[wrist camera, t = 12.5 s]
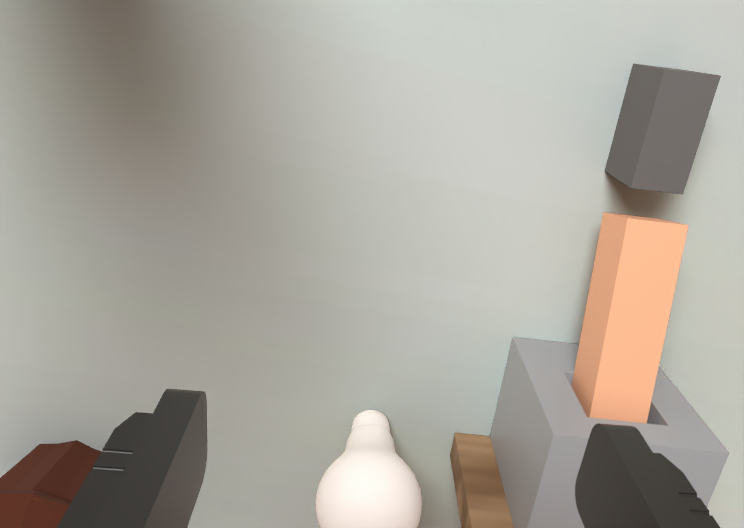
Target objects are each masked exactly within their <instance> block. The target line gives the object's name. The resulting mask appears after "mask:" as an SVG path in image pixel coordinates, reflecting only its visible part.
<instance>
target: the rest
mask: <svg viewBox="0 0 744 528" xmlns="http://www.w3.org/2000/svg"><path fill="white" fill-rule="evenodd" d="M720 77H721V76H719V75H713V74H706V73H700V72H693V71H687V70H679V69H671V68H663V67H655V66H647V65H639V64H633V67H632V70H631V74H630V78H629V82H628V85H627V89H626V93H625V97H624V100H623V104H622V108H621V112H620V116H619V119H618V123H617V127H616V131H615V134H614V138H613V142H612V146H611V149H610V153H609V157H608V161H607V164H606V168H605V172H607V173H608V174H610V175H611V176H613V177H614V178H616V179H618V180H619V181H621V182H622V183H624V184H625V185H627V186H628V187H630V188H634V189H642V190H651V191H659V192H668V193H676V194H683V192H684V189H685V186H686V183H687V180H688V177H689V173H690V170H691V167H692V164H693V161H694V158H695V155H696V152H697V148H698V145H699V142H700V139H701V136H702V133H703V130H704V127H705V123H706V120H707V117H708V114H709V111H710V108H711V105H712V102H713V98H714V95H715V92H716V89H717V86H718V83H719V80H720Z"/></svg>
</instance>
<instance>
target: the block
mask: <svg viewBox="0 0 744 528" xmlns="http://www.w3.org/2000/svg"><path fill="white" fill-rule="evenodd" d="M578 348H579V344H572V343H563V342H554V341H545V340H536V339H526V338H517V337H513V338H512V343H511V347H510V351H509V356H508V360H507V364H506V369H505V373H504V377H503V382H502V386H501V390H500V395H499V399H498V403H497V408H496V412H495V416H494V421H493V425H492V429H491V434H490V438H491V442H492V446H493V450H494V454H495V457H496V461H497V465H498V469H499V473H500V476H501V480H502V484H503V488H504V492H505V495H506V499H507V503H508V507H509V511H510V514H511V518H512V522H513V526H514V528H585V527H584V525H583V522H582V520H581V517H580V515H579V512H578V510H577V506H576V500H575V484H576V479H577V475H578V472H579V469H580V465H581V462H582V459H583V456H584V452H585V449H586V446H587V443H588V439H589V436H590V433H591V430H592V428H593V427H594V425H596V424H598V423H600V424H613V425H626V426H634V427H636V428H637V429H638V430H639V432H640V433H641V435H642V436H643V438H644V439H645V441H646V443H647V444H648V446H649V447H650V449H651V450H652V452H653V453H661V454H662V455H663V456H665V457H666V458H667V459H668V460H669V461H670V462H672V463H673V464H674V465H675V466H676V467H677V468H679V469H680V470H681V471H682V472H683V473H684V474H685V476H686V477H687V479H688V480H689V482H690V483H691V485H692V486H693V488H694V489H695V491H696V492H697V497H698V498H701V500H702V501H703V503H704V504H705V506H706V507H707V505H708V502H709V500H710V498H711V495H712V493H713V491H714V488H715V486H716V483H717V481H718V479H719V476H720V474H721V472H722V469H723V467H724V464H725V462H726V460H727V457H728V455H729V452H728V451H727V449H726V448H725V447H724V446H723V444H722V443H721V442H720V441H719V440H718V438H717V437H716V436H715V435H714V433H713V432H712V431H711V430H710V428H709V427H708V426H707V425H706V423H705V422H704V421H703V420H702V419H701V417H700V416H699V415H698V414H697V412H696V411H695V410H694V409H693V407H692V406H691V405H690V404H689V402H688V401H687V400H686V399H685V398H684V396H683V395H682V394H681V393H680V391H679V390H678V389H677V388H676V386H675V385H674V384H673V383H672V382H671V380H670V379H669V378H668V377H667V375H666V374H665V373H664V372H663V370H662V369H661V368H660V367H658V372H657V376H656V381H655V386H654V391H653V395H652V400H651V405H650V409H649V414H648V419H647V424H646V423H637V422H627V421H618V420H608V419H599V418H589V417H587V416H586V414H585V412H584V410H583V408H582V406H581V404H580V402H579V400H578V398H577V396H576V395H575V393H574V391H573V389H572V387H571V386H572V380H573V375H574V370H575V364H576V359H577V353H578Z"/></svg>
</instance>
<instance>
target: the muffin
mask: <svg viewBox="0 0 744 528" xmlns="http://www.w3.org/2000/svg"><path fill="white" fill-rule="evenodd" d="M100 453H102V452H101V451H98V450H95V449H93V448H91V447H89V446H87V445H85V444H83V443H81V442H79V441H77V440H76V441H71V442H65V443H60V444H39V445H38V446H37V447H36V448H35V449H34V450H33V451H31V452H30V453H29V454H28V455H27V456H26V457H24V458H23V459H22V460H21V461H20V462H19V463H17V464H16V465H15V466H14V467H13V468H12V469H10V470H9V471H8V472H7V473H6V474H5V475H3V476H2V477H1V478H0V528H57V526H58V524H59V522H60V521H61V519H62V517H63V516H64V514H65V512H66V511H67V509H68V507H69V506H70V504H71V502H72V500H73V499H74V497H75V495H76V494H77V492H78V490H79V489H80V487H81V485H82V484H83V482H84V480H85V478H86V477H87V475H88V473H89V472H90V470H92V469H93V465H94V463H95V462H96V460H97V458H98V457H99V455H100Z"/></svg>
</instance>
